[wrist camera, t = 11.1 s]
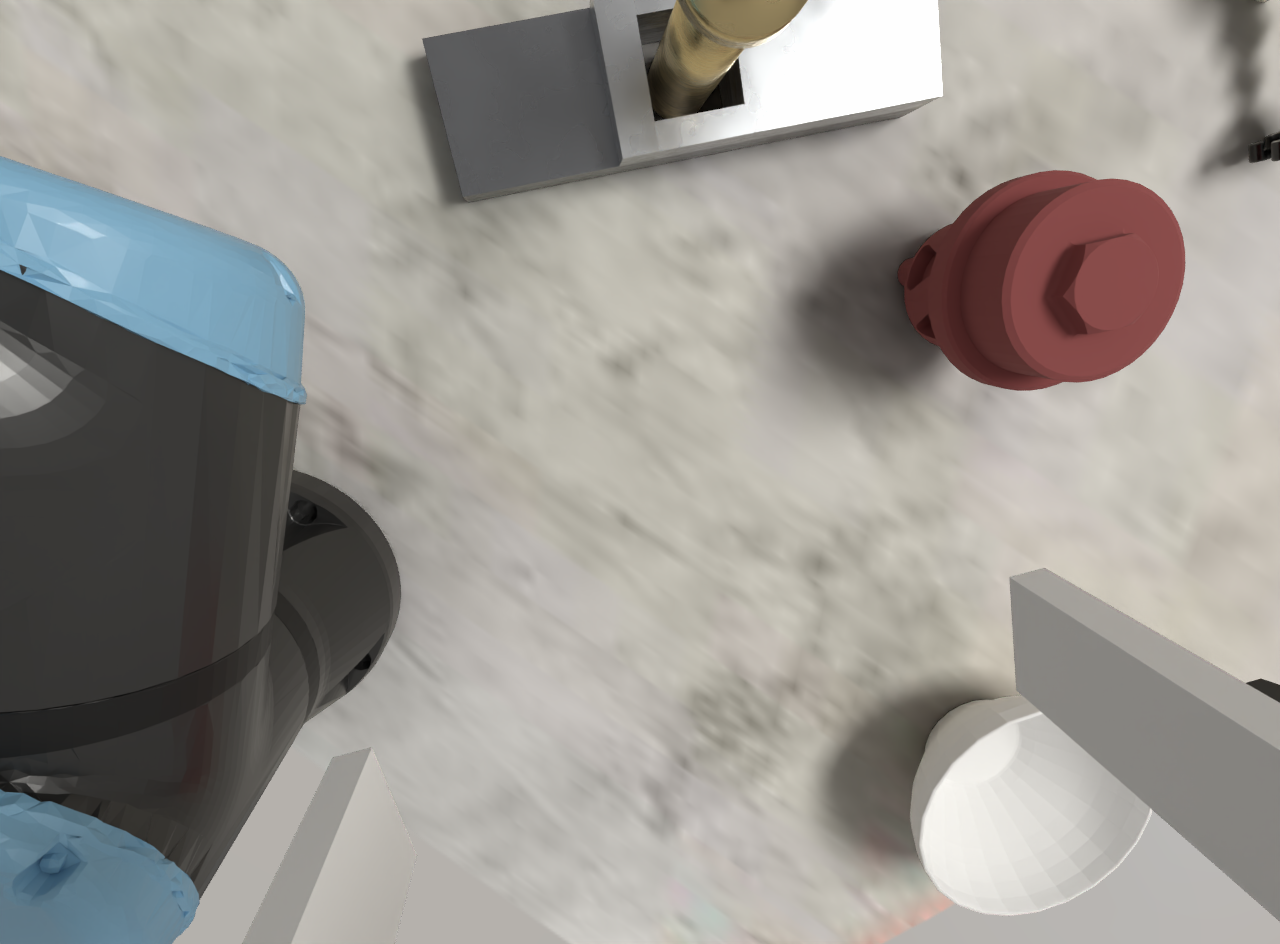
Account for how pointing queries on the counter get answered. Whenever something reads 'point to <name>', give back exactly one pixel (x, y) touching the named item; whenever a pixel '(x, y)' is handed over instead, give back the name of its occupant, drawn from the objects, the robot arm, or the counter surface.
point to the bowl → (1017, 810)
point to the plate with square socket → (620, 99)
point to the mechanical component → (1048, 280)
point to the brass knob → (709, 47)
